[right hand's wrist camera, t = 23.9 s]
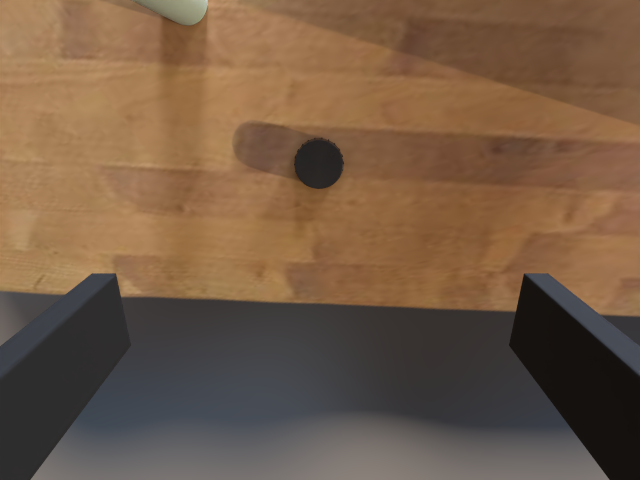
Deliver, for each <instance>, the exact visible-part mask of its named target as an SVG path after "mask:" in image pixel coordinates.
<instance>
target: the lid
mask: <svg viewBox="0 0 640 480" xmlns="http://www.w3.org/2000/svg"><path fill="white" fill-rule="evenodd" d="M297 152H298V153H297V155H296V156H295V164H294V165H295V170H296V173H297V175H298V177H299V179H300V180H301V181H302V182H303V183H304V184H306V185H307V186H309V187H312V188H316V189H322V188H326V187H329V186H331V185H333V184H334V183H335V182H336V181H337V180H338V179H339V177H340V176H341V173H342V171H343V164H344V162H343V159H342V157H343V156H342V154H341V153H340V149H339V148H338V147H337V146H336V145H335V143H332V142H331V141H329V139H328V140H326V139H322V138H316V139H315V138H314V139H312V140H308V141H307V142H306V143H304V144H302V146H301V148H300V149H298V151H297Z"/></svg>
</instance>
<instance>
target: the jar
mask: <svg viewBox="0 0 640 480" xmlns="http://www.w3.org/2000/svg"><path fill="white" fill-rule="evenodd" d="M131 1H133V2H136V3H138V4H140V5H142V6H144V7H146V8H148V9H150V10H152V11H154V12H156V13H158V14H160V15H162V16H164V17H166V18H168V19H170V20H172V21H174V22H176V23H179V24H181V25H188V26H189V25H194V24H196V23H198V22H199V21H200V20H201V19H202V18H203V17H204V15H205V13H206V10H207V4H208V1H207V0H131Z"/></svg>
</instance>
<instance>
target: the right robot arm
mask: <svg viewBox="0 0 640 480" xmlns="http://www.w3.org/2000/svg"><path fill="white" fill-rule="evenodd" d="M130 346H131V343H130V339H129V334H128V329H127V324H126V320H125V315H124V310H123V305H122V300H121V296H120V291H119V286H118V281H117V277H116V274H91V275H90V276H88V277H87V278H86V279H85V280H83V281H82V282H81V283H80V284H78V285H77V286H76V287H75V288H73V289H72V290H71V291H69V292H68V293H67V294H66V295H64V296H63V297H62V298H61V299H59V300H58V301H57V302H56V303H54V304H53V305H52V306H51V307H49V308H48V309H47V310H46V311H44V312H43V313H42V314H41V315H39V316H38V317H37V318H35V319H34V320H33V321H32V322H30V323H29V324H28V325H27V326H25V327H24V328H23V329H22V330H20V331H19V332H18V333H17V334H15V335H14V336H13V337H12V338H10V339H9V340H8V341H6V342H5V343H4V344H3V345H1V346H0V480H30V479H31V478H32V477H33V475H34V474H35V473H36V471H37V470H38V469H39V467H40V466H41V465H42V463H43V462H44V461H45V459H46V458H47V457H48V455H49V454H50V453H51V451H52V450H53V449H54V447H55V446H56V445H57V443H58V442H59V441H60V439H61V438H62V437H63V435H64V434H65V433H66V431H67V430H68V429H69V427H70V426H71V425H72V423H73V422H74V421H75V419H76V418H77V417H78V415H79V414H80V413H81V411H82V410H83V409H84V407H85V406H86V405H87V403H88V402H89V401H90V399H91V398H92V397H93V395H94V394H95V393H96V391H97V390H98V389H99V387H100V386H101V385H102V383H103V382H104V381H105V379H106V378H107V376H108V375H109V374H110V372H111V371H112V370H113V369H114V367H115V366H116V365H117V363H118V362H119V361H120V359H121V358H122V357H123V355H124V354H125V353H126V351H127V350H128V349H129V347H130ZM509 346H510V347H511V349H512V350H513V351H514V353H515V354H516V355H517V357H518V358H519V359H520V361H521V362H522V363H523V365H524V366H525V367H526V369H527V370H528V371H529V373H530V374H531V375H532V377H533V378H534V379H535V381H536V382H537V383H538V384H539V386H540V387H541V389H542V390H543V391H544V393H545V394H546V395H547V397H548V398H549V399H550V401H551V402H552V403H553V405H554V406H555V407H556V409H557V410H558V411H559V413H560V414H561V415H562V417H563V418H564V419H565V421H566V422H567V423H568V425H569V426H570V427H571V429H572V430H573V431H574V433H575V434H576V435H577V437H578V438H579V439H580V441H581V442H582V443H583V445H584V446H585V447H586V449H587V450H588V451H589V453H590V454H591V455H592V457H593V458H594V459H595V461H596V462H597V463H598V465H599V466H600V467H601V469H602V470H603V471H604V473H605V474H606V475H607V477H608V478H609V479H610V480H640V346H639V345H637V344H636V343H635V342H633V341H632V340H631V339H630V338H628V337H627V336H626V335H625V334H623V333H622V332H621V331H620V330H618V329H617V328H616V327H615V326H613V325H612V324H611V323H609V322H608V321H607V320H606V319H605V318H603V317H602V316H601V315H599V314H598V313H597V312H596V311H594V310H593V309H592V308H591V307H589V306H588V305H587V304H586V303H584V302H583V301H582V300H581V299H579V298H578V297H577V296H576V295H574V294H573V293H572V292H571V291H569V290H568V289H567V288H565V287H564V286H563V285H562V284H560V283H559V282H558V281H557V280H555V279H554V278H553V277H552V276H550V275H549V274H524V277H523V281H522V286H521V291H520V296H519V300H518V305H517V310H516V315H515V320H514V324H513V329H512V334H511V339H510V343H509Z"/></svg>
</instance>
